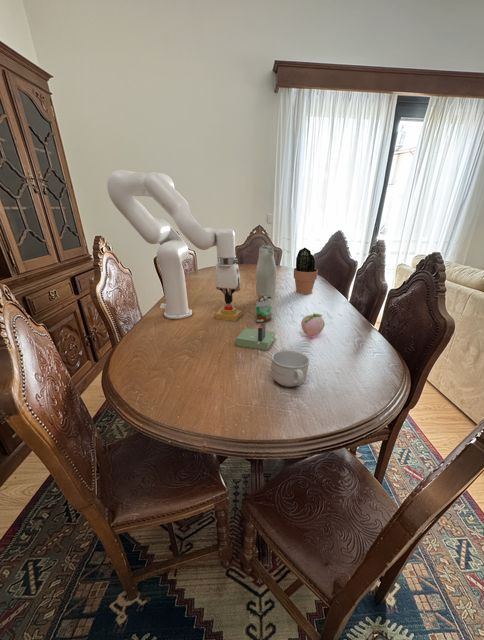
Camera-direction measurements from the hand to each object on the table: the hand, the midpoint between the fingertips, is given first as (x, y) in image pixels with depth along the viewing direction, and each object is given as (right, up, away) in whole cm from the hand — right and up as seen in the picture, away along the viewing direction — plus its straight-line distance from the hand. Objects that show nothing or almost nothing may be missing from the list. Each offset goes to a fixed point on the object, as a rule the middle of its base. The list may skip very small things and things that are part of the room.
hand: (228, 303), depth 128 cm
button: (0, -3, +1) cm, 3 cm away
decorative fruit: (+34, -16, -14) cm, 40 cm away
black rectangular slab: (+15, -17, -24) cm, 33 cm away
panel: (+13, -19, -21) cm, 31 cm away
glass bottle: (+17, +6, +25) cm, 31 cm away
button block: (0, -6, +3) cm, 7 cm away
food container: (+16, -8, +1) cm, 18 cm away
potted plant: (+39, +13, +40) cm, 57 cm away
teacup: (+23, -31, -44) cm, 58 cm away
